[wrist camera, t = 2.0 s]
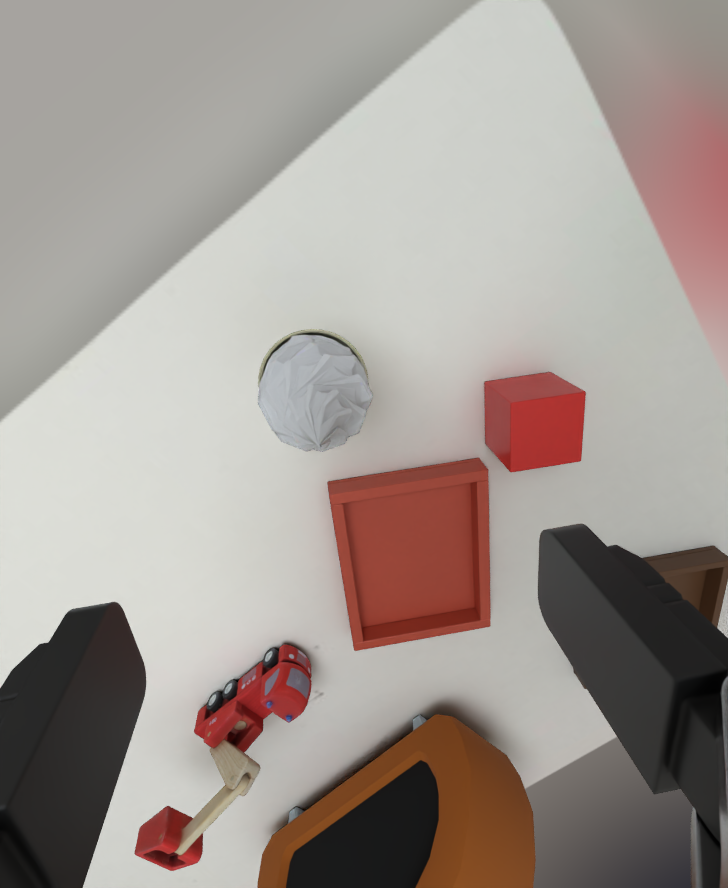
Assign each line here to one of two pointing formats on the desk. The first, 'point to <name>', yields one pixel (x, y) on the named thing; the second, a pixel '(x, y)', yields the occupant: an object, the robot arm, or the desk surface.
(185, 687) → the desk surface
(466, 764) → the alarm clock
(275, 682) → the toy fire truck
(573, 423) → the red block
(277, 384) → the ice cream cone
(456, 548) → the red tray
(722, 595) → the brown tray
